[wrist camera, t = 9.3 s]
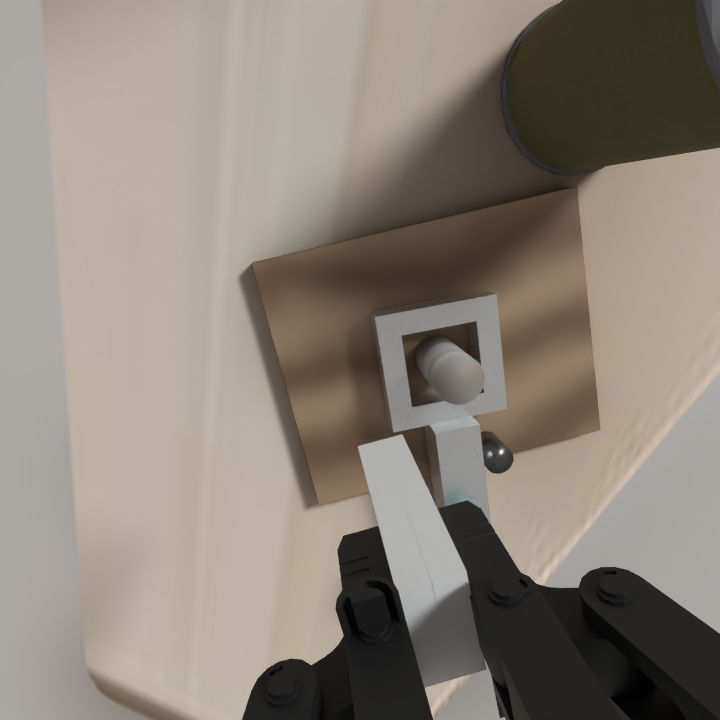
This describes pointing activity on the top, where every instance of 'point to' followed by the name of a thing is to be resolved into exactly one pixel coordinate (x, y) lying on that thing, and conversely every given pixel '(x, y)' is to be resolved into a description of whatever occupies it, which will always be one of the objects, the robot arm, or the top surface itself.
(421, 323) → the square loop handle
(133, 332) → the top surface
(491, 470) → the dowel
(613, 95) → the canister
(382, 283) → the board
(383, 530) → the robot arm
